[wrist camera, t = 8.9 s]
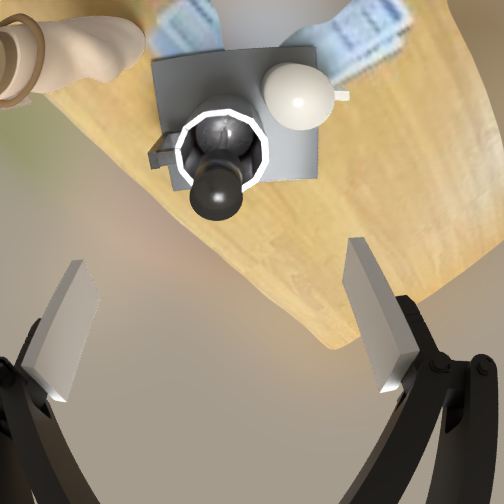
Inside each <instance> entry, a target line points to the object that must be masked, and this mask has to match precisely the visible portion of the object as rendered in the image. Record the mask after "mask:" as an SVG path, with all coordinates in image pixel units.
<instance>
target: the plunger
mask: <svg viewBox="0 0 504 504" xmlns="http://www.w3.org/2000/svg"><path fill="white" fill-rule="evenodd" d="M196 139H197V142H198V145H199V146H200V148H201V149H202V150H203V151H204V152H205V154H204V155H203V156H202V158H201V159H200V161H199V164H198V167H197V171H196V174H195V177H194V181H193V184H192V187H191V191H190V203H191V206H192V208H193V209H194V211H195V212H196V213H197V214H198V215H200V216H201V217H203V218H205V219H208V220H212V221H221V220H225V219H228V218H230V217H232V216H233V215H235V214H236V213H237V212H238V210H239V209H240V207H241V205H242V200H243V193H242V168H241V163H240V160H239V158H238V157H239V156H240V155H242V154H243V153H244V152H245V151H246V150H247V149H248V148H249V146H250V145H251V142H252V140H253V128H252V127H251V126H250V124H249V123H246V122H244V121H242V120H239V119H237V118H235V117H232V116H230V115H222V116H213V117H206V118H204V119H203V120H202V121H200V122H199V123H198V124H197V128H196Z"/></svg>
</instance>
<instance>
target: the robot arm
mask: <svg viewBox="0 0 504 504" xmlns="http://www.w3.org/2000/svg"><path fill="white" fill-rule="evenodd" d="M342 282H343V285H344V288H345V291H346V293H347V296H348V299H349V301H350V304H351V307H352V310H353V313H354V315H355V318H356V321H357V324H358V327H359V330H360V333H361V336H362V339H363V342H364V344H365V348H366V351H367V354H368V357H369V360H370V363H371V366H372V369H373V372H374V376H375V379H376V382H377V385H378V389H379V392H380V393H382V392H387V391H391V390H395V389H397V388H398V386H399V385H400V383H402V386H403V388H404V391H403V392H402V394H401V395H400V397H399V398H398V400H397V402H398V403H397V405H396V407H395V409H394V411H393V413H392V415H391V417H390V419H389V421H388V423H387V425H386V427H385V429H384V431H383V433H382V434H381V436H380V438H379V440H378V442H377V443H376V446H375V447H374V449H373V451H372V452H371V454H370V456H369V458H368V459H367V461H366V463H365V464H364V466H363V467H362V469H361V471H360V472H359V474H358V476H357V477H356V479H355V480H354V482H353V483H352V485H351V486H350V488H349V490H348V491H347V492H346V494H345V495H344V497H343V498H342V500H341V501H340V503H339V504H398V502H399V500H400V499H401V497H402V495H403V493H404V491H405V489H406V487H407V486H408V484H409V482H410V480H411V478H412V476H413V474H414V472H415V470H416V468H417V466H418V464H419V462H420V459H421V457H422V455H423V453H424V451H425V448H426V446H427V443H428V441H429V439H430V436H431V434H432V431H433V429H434V427H435V424H436V421H437V419H438V416H439V413H440V410H441V408H442V407H443V412H442V421H441V429H440V436H439V443H438V449H437V455H436V460H435V465H434V470H433V475H432V480H431V485H430V489H429V493H428V497H427V501H426V504H489V503H490V498H491V493H492V487H493V479H494V472H495V462H496V452H497V438H498V377H497V367H496V364H495V362H494V361H493V359H492V358H490V357H489V356H487V355H485V354H478V355H476V356H474V357H473V359H472V360H471V361H454V360H451V359H450V357H449V356H448V355H446V354H445V353H443V352H440V351H439V350H438V348H437V346H436V344H435V342H434V340H433V338H432V336H431V334H430V331H429V329H428V327H427V325H426V323H425V322H424V319H423V317H422V315H421V314H420V311H419V310H418V308H417V306H416V304H415V302H414V301H413V300H411V299H410V298H409V297H408V296H407V295H403V296H396V297H395V296H394V294H393V292H392V290H391V288H390V286H389V284H388V282H387V280H386V278H385V276H384V274H383V272H382V270H381V268H380V266H379V264H378V263H377V261H376V259H375V257H374V255H373V253H372V251H371V250H370V248H369V246H368V244H367V242H366V241H365V239H364V237H357V238H349V239H348V247H347V254H346V260H345V267H344V273H343V279H342ZM101 299H102V298H101V295H100V293H99V291H98V290H97V288H96V285H95V283H94V281H93V279H92V277H91V275H90V272H89V270H88V268H87V266H86V264H85V261H84V260H73V261H72V262H71V263H70V265H69V267H68V269H67V271H66V272H65V274H64V276H63V278H62V279H61V281H60V283H59V285H58V287H57V289H56V291H55V293H54V295H53V296H52V298H51V300H50V303H49V304H48V306H47V308H46V310H45V312H44V314H43V317H42V319H41V318H39V319H38V320H37V321H36V322H35V323H34V324H33V326H32V327H31V329H30V331H29V333H28V337H26V340H25V344H23V347H22V349H21V351H20V353H19V356H18V358H17V360H16V363H15V365H14V366H13V365H12V364H11V363H10V362H9V361H8V359H7V358H5V357H0V504H35V503H34V499H33V495H32V492H33V494H34V496H35V499H36V501H37V503H38V504H100V503H99V501H98V500H97V498H96V496H95V495H94V493H93V491H92V490H91V488H90V486H89V485H88V483H87V481H86V479H85V478H84V476H83V474H82V472H81V470H80V469H79V467H78V465H77V463H76V461H75V459H74V457H73V455H72V453H71V451H70V449H69V447H68V445H67V443H66V441H65V439H64V437H63V434H62V432H61V430H60V428H59V425H58V423H57V421H56V418H55V416H54V413H53V411H52V409H51V406H50V404H49V402H48V401H47V400H46V398H47V394H49V395H50V396H51V397H52V398H53V399H54V400H56V401H62V402H67V401H68V398H69V394H70V390H71V387H72V384H73V380H74V377H75V373H76V370H77V367H78V364H79V361H80V357H81V354H82V351H83V349H84V346H85V343H86V340H87V337H88V334H89V331H90V328H91V325H92V323H93V320H94V317H95V315H96V312H97V309H98V307H99V304H100V301H101ZM31 490H32V491H31Z"/></svg>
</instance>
